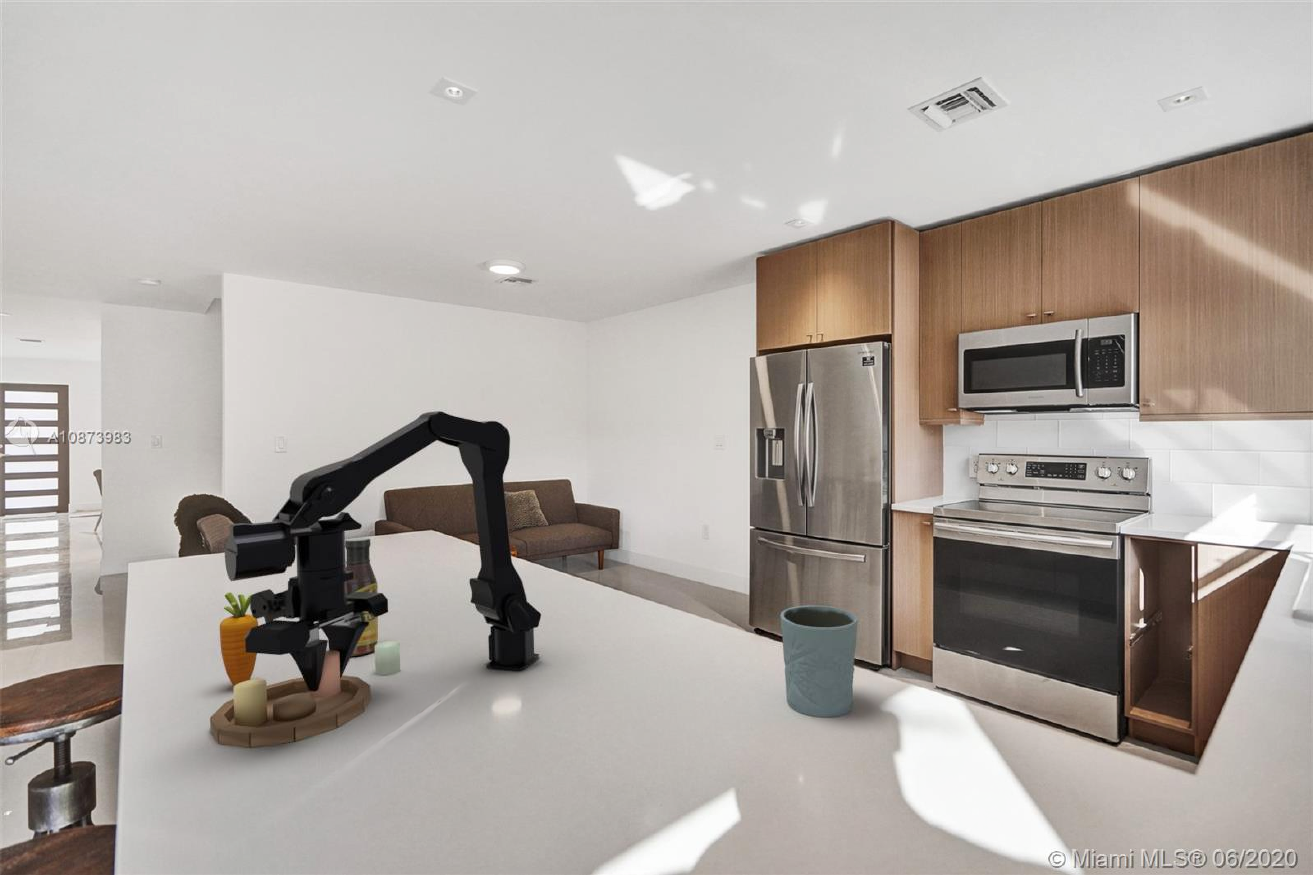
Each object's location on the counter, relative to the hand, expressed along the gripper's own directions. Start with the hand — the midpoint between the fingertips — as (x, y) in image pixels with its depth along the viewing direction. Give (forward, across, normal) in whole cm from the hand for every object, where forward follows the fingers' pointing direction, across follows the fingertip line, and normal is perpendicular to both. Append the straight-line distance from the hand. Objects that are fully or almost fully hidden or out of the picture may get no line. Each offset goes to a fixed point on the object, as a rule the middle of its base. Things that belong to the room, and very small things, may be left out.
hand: (325, 685), depth 84 cm
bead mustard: (+4, +4, -8) cm, 10 cm away
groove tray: (+5, 0, -5) cm, 7 cm away
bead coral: (+1, 0, 0) cm, 1 cm away
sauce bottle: (+5, -25, -16) cm, 30 cm away
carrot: (+5, -6, -21) cm, 22 cm away
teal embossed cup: (+5, -19, +63) cm, 66 cm away
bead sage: (+5, -16, -3) cm, 17 cm away
